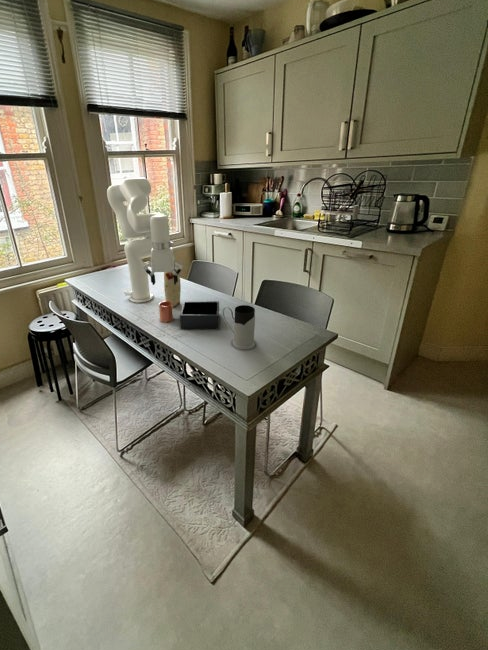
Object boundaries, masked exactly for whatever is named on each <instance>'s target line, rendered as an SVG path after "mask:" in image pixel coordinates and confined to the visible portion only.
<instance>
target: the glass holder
mask: <svg viewBox="0 0 488 650" xmlns="http://www.w3.org/2000/svg"><path fill="white" fill-rule="evenodd" d="M226 309H228V310H229V311H230V313H231V315H230V316H231V319H232V320H233V328H232V327H231V326H230V325H229V323H228V321H227V319H226V316H225V315H226V314H225V310H226ZM222 318H223V321H224V323H225V325H226V326H227V328H228V329H229V330H230V331H231V332H232V334H233V340H232V345H233V347H235V348H236V349H240V350H251V349H253V348H254V347H255V346H256V343H255V327H256V325H255V324H256V308H255V307H254V306H252V305H247V304H241V305H240V304H239V305H237V306H235V307H234V313H233V310H232V308H231V307H230V306H225V307H224V308H223V309H222Z"/></svg>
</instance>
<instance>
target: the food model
mask: <svg viewBox="0 0 488 650" xmlns="http://www.w3.org/2000/svg"><path fill="white" fill-rule="evenodd" d="M175 269H176V270H178V269H179V267H178V266H175ZM180 275H181V274H180V273H179V274H178V282H177V283H176V285H175V284H174V274H173V273H172V272H163V289H164V297H165V301H169V302H172V308H173V307H176V306H179V305H180V303H181V292H182V291H181V289H182V286H181V276H180Z"/></svg>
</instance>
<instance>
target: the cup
mask: <svg viewBox="0 0 488 650" xmlns="http://www.w3.org/2000/svg"><path fill="white" fill-rule="evenodd" d="M173 310H174V309H173V307H172V302H169V301H166V300H163V301H161V302H159V303H158V312H159V313H158V314H159V321H160V322H161V323H171V322H172V321H173V320H174V312H173Z"/></svg>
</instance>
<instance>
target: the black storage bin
mask: <svg viewBox="0 0 488 650" xmlns="http://www.w3.org/2000/svg"><path fill="white" fill-rule="evenodd" d="M179 323H180V324H179V326H180V330H220V301H217V300H216V301H215V300H214V301H211V300H210V301H208V300H207V301H183V302H182V306H181V309H180V313H179Z"/></svg>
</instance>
